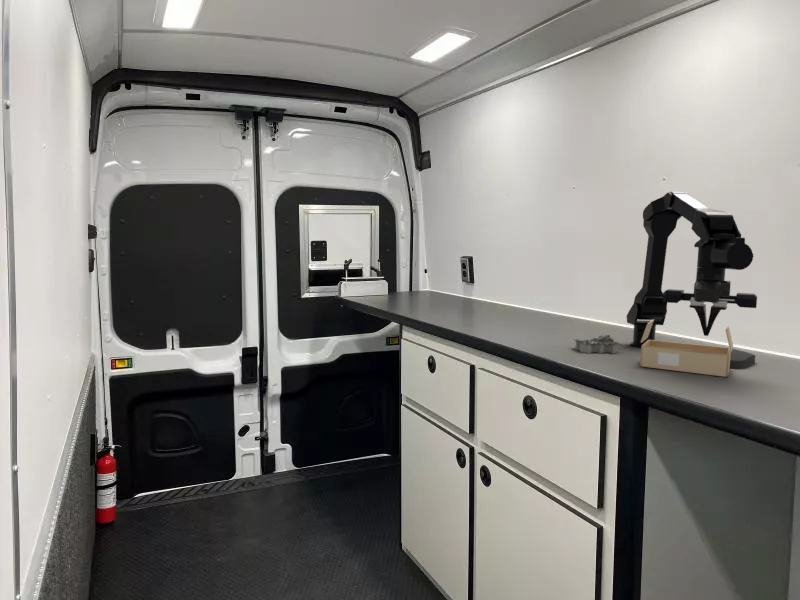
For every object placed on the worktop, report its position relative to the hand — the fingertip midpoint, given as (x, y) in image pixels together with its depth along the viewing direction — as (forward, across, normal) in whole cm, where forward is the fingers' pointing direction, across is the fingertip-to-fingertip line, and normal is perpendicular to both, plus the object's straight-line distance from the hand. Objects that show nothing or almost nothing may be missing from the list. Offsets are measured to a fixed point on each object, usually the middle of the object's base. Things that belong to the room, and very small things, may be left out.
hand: (706, 335), depth 132 cm
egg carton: (+8, -26, +9) cm, 29 cm away
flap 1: (+3, -13, 0) cm, 14 cm away
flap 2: (+3, +5, 0) cm, 6 cm away
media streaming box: (+9, +2, +14) cm, 17 cm away
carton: (+8, -4, 0) cm, 9 cm away
